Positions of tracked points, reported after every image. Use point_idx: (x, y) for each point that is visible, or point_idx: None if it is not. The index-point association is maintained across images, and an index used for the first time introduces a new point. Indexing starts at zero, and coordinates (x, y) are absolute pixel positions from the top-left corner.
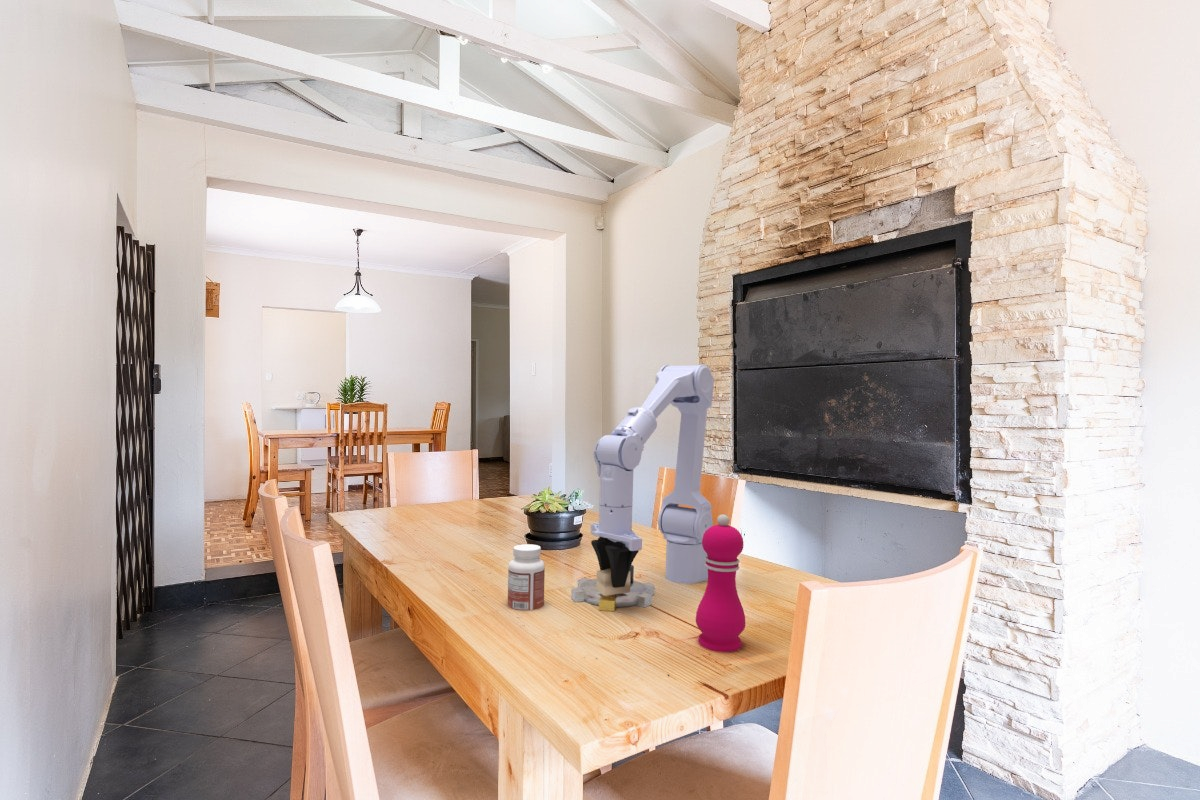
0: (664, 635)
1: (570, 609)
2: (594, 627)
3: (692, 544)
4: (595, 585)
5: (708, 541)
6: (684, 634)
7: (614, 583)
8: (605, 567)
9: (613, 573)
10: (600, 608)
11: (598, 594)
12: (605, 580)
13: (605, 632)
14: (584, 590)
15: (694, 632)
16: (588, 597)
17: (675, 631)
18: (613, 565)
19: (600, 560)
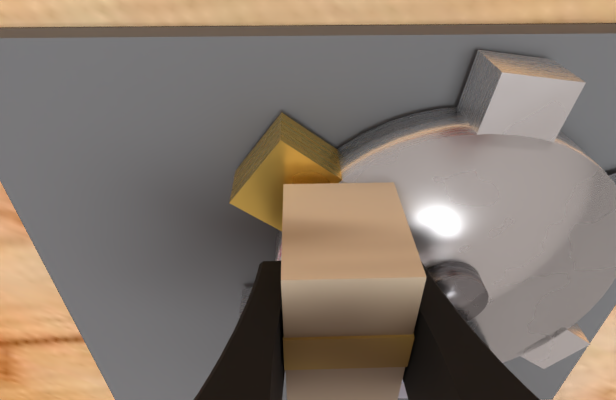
0: (7, 234)
1: (481, 12)
2: (150, 5)
3: None
4: (526, 229)
5: None
6: (16, 288)
7: (255, 280)
8: (421, 344)
9: (236, 331)
10: (275, 122)
11: (377, 179)
12: (282, 253)
13: (62, 26)
14: (492, 141)
15: (35, 316)
16: (424, 128)
17: (50, 278)
18: (203, 391)
19: (457, 372)
